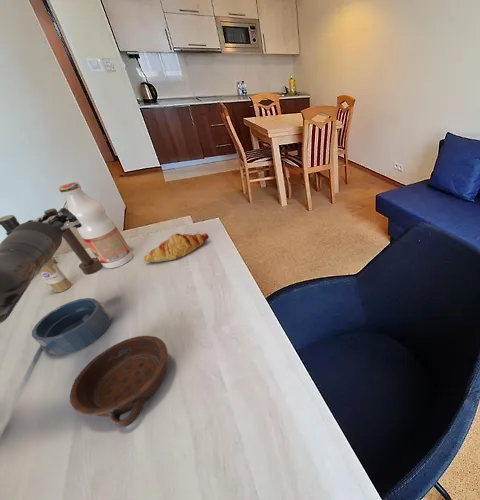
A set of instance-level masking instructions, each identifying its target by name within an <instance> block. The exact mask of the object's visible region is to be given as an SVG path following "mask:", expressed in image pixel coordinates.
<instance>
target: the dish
mask: <svg viewBox="0 0 480 500" xmlns="http://www.w3.org/2000/svg"><path fill="white" fill-rule="evenodd" d="M167 359H168V348H167V345H166V343H165V342H164V341H163V340H162V339H161V338H159V337H156V336H153V335H139V336H134V337H130V338H127V339H124V340H122V341H119V342H117V343H116V344H114V345H112V346H110V347H108V348H107V349H105V350H104V351H102V352H101V353H100V354H98V355H96V356H95V357H94V358H93V359H92V360H91V361H90V362H88V363H87V364H86V365H85V367H84V368H83V369H81V371H80V372H79V374H78V375H77V376H76V378H75V379H74V381H73V383H72V386H71V388H70V391H69V403H70V406H71V407H72V409H73V410H74V411H75V412H76V413H79V414H81V415H85V416H86V415H88V416H98V417H109V418H110V420H111V422H112V423H113V424H114V425H115V426H117V427H119V428H126V427H128V426H130V425H131V424H132V423H133V422H135V421H136V420H137V419H138V417H139V416H140V415H141V413H142V410H143V407H144V404H145V402H146V401H147V400H148V399H149V398H150V397H151V396H152V395H153V394H154V393H155V392H156V391H157V390H158V388H159V387H160V385H161V383H162V382H163V380H164V378H165V375H166V372H167V363H168V362H167V361H168V360H167ZM130 411H131V413H129V415H128V416H126V417H125V418H123V419H121V416H122V415H124V414H126V413H128V412H130Z"/></svg>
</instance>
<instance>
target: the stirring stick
mask: <svg viewBox="0 0 480 500" xmlns="http://www.w3.org/2000/svg"><path fill="white" fill-rule="evenodd" d="M58 212H59V211H58V210H57V209H56V208H49V209H46V210H44V212H43V213H44V215H45V214H46V216H47V217H48V218H49V217H50V216H55V215H56V214H57V213H58ZM62 239H63V240H64V241H65V242H66V244H67V245H68V246H69V248H70V249H71V250H72V251H73V253H74V254H75V255H76V257H77V258H78V259H79V260H80V263H79V265H78V268H79V269H80V271H81V272H82V273H83V274H84V275H85V276H88V275H89V276H90V275H93V274H96V273H98V272H99V271H101V270H102V269H103V268H104V267H103V265H102V263H101V262H100V261H99V259H98V258H96V257H91V256H90V254H89V252H88V251H87V250H86V248H85V246H83V245H82V243H81V241H80V240H79V239H78V237H77V236H76V234H75V233H74V232H73V230H72V229H71V227H70V228H67V231H66V232H65V233H63V234H62Z"/></svg>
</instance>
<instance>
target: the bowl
mask: <svg viewBox="0 0 480 500" xmlns="http://www.w3.org/2000/svg"><path fill="white" fill-rule="evenodd" d="M110 324H111V316H110V314H109V313H108V312H107V310H106V309H105V308H104V306H103V305H102V303H100V301H99V300H97V299H96V298H92V297H86V298H78V299H75V300H72V301H68V302H66V303H65V304H62V305H60V306H58V307H56V308H54V309H52V310H51V311H49V312H48V313H46V314H45V315H44V316H43V317H42V318H40V320H39V321H38V322H36V324H35V325H34V326H33V328H32V330H31V337H32V338H33V339H34V340H35V341H36V342H37V343H38V344H39V345H41V346H42V348H44V349H45V350H46V351H47V352H48V353H49V354H50V355H57V356H59V355H66V354H70V353H74V352H77V351H80V350H82V349H84V348H86V347H87V346H89V345H91V344H92V343H94V342H95V341H96V340H97V339H99V338H100V337H101V336H102V335H103V334H104V333H105V331H106V330H107V329H108V328H109V325H110Z"/></svg>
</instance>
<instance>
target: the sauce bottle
mask: <svg viewBox="0 0 480 500" xmlns="http://www.w3.org/2000/svg"><path fill="white" fill-rule="evenodd" d="M20 224H21V223H20V222H19V221H18V219H17V217H16V216H15V215H14V214H8V215H4V216H2V217H0V226H1V227H2V228H3V229H4V230H5V231H6V233H7V232H9V231H11V230H13V229H14V228H16V227H17V226H19V225H20ZM51 260H52V261H53V262H54V263H55V264H56V265H57V260H56V259H55V257H54V255H53V256H52V258H51Z"/></svg>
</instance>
